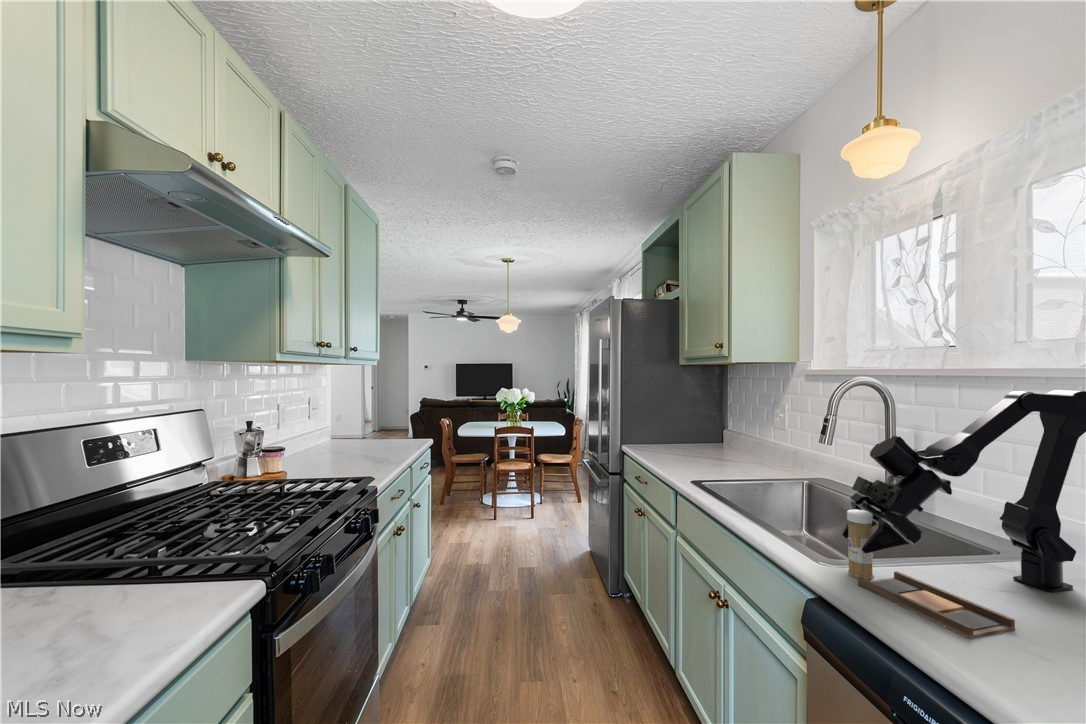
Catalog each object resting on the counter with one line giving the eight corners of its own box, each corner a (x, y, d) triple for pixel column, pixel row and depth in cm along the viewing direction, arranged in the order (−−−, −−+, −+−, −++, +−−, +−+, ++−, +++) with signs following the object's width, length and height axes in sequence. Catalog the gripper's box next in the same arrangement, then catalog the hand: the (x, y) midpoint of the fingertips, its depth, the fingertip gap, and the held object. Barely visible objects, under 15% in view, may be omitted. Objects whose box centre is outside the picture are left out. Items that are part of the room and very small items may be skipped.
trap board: (897, 579, 104) (896, 571, 104) (1014, 629, 84) (1014, 619, 84) (857, 585, 102) (857, 576, 102) (969, 638, 82) (969, 628, 82)
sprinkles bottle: (843, 572, 108) (841, 509, 109) (863, 571, 109) (861, 508, 109) (858, 581, 104) (857, 515, 104) (879, 579, 104) (877, 514, 105)
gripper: (858, 456, 115) (807, 503, 117) (903, 473, 97) (842, 529, 99) (897, 492, 114) (845, 539, 116) (950, 516, 96) (887, 572, 97)
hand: (853, 543), depth 107 cm, fingers open, 9 cm apart
